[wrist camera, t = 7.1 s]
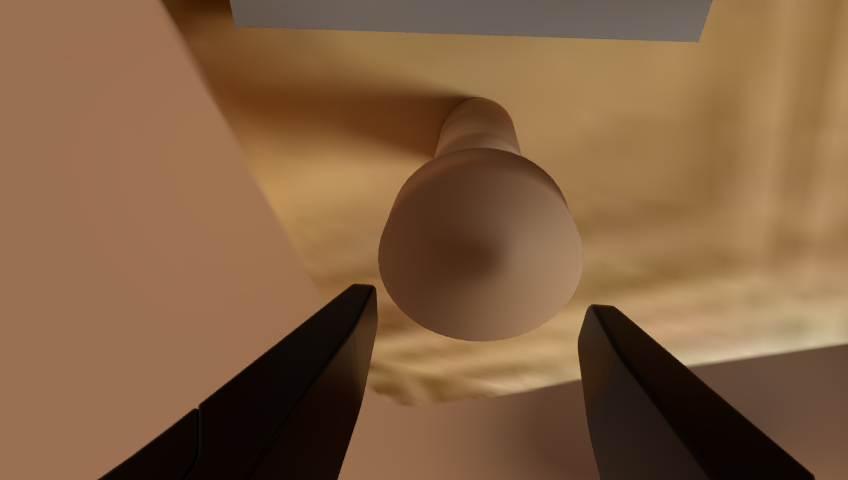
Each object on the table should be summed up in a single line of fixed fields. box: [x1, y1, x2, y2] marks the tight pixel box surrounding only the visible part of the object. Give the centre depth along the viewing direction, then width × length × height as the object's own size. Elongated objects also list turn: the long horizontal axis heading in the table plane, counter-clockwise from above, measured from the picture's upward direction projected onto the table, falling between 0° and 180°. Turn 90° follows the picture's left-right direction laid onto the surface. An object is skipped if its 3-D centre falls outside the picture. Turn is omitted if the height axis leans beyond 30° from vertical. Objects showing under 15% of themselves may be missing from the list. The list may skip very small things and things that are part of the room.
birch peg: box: [378, 98, 583, 341], centre depth 13 cm, size 4×4×10 cm
